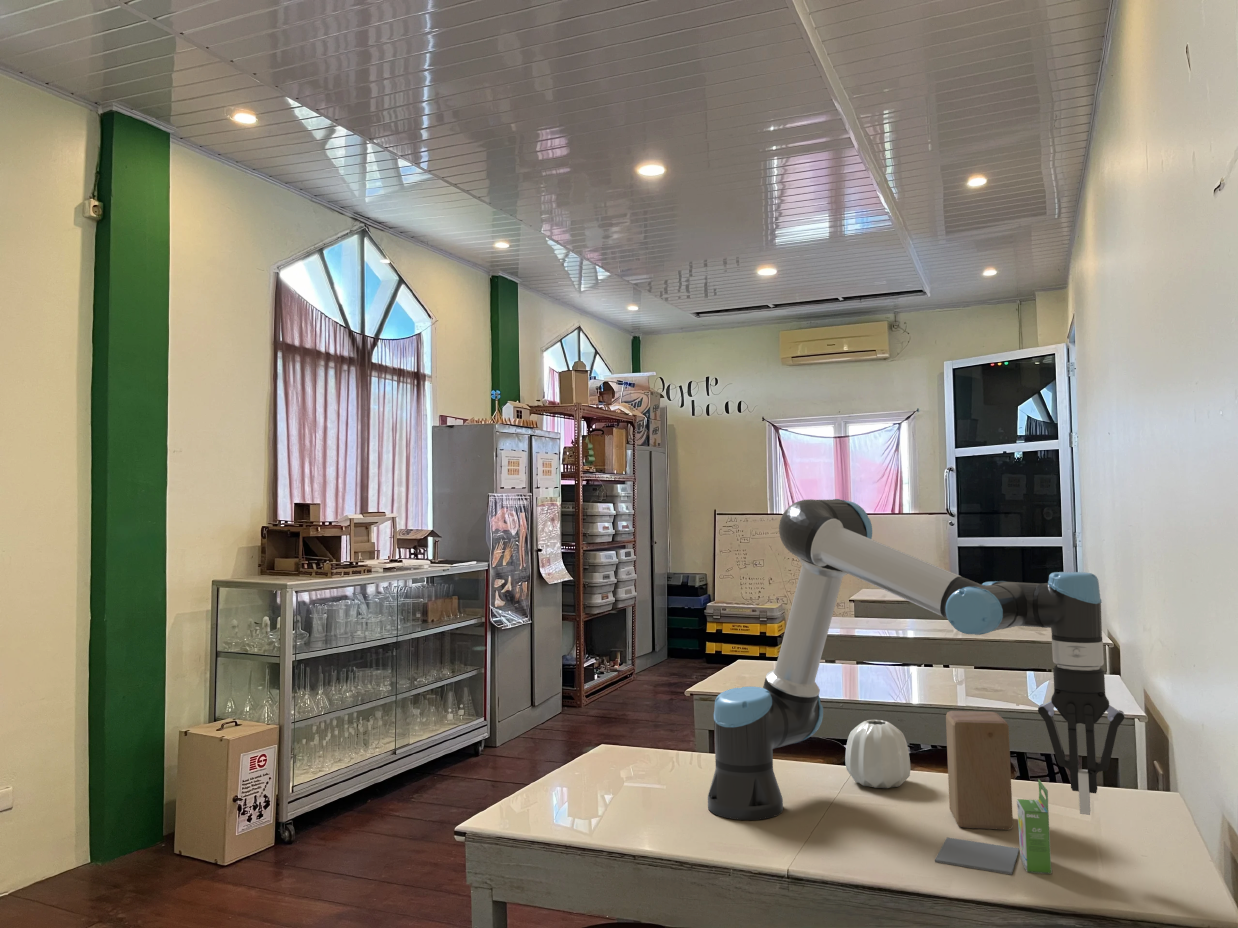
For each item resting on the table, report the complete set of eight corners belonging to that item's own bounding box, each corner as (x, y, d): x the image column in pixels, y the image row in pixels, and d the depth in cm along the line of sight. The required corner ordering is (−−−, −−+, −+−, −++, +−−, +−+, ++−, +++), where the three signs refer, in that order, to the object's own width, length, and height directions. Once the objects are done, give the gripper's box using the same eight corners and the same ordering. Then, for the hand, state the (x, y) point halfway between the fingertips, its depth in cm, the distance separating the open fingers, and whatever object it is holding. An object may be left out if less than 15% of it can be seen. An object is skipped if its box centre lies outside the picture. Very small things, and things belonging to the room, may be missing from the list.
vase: (843, 774, 203) (841, 714, 204) (905, 775, 201) (903, 715, 202) (850, 792, 190) (848, 728, 191) (917, 794, 188) (915, 729, 189)
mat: (934, 861, 151) (934, 859, 151) (947, 839, 161) (946, 837, 161) (1011, 874, 145) (1011, 872, 145) (1019, 850, 155) (1019, 848, 155)
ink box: (1018, 856, 152) (1015, 777, 153) (1044, 858, 151) (1040, 778, 152) (1025, 872, 146) (1022, 788, 147) (1052, 874, 145) (1048, 790, 146)
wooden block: (1014, 831, 165) (1009, 722, 166) (957, 828, 167) (953, 720, 168) (1002, 814, 174) (998, 710, 176) (948, 811, 176) (944, 709, 178)
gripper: (1032, 666, 147) (1039, 812, 145) (1123, 672, 140) (1131, 824, 139) (1036, 660, 153) (1043, 799, 152) (1123, 665, 147) (1130, 810, 145)
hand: (1085, 811), depth 145 cm, fingers closed
